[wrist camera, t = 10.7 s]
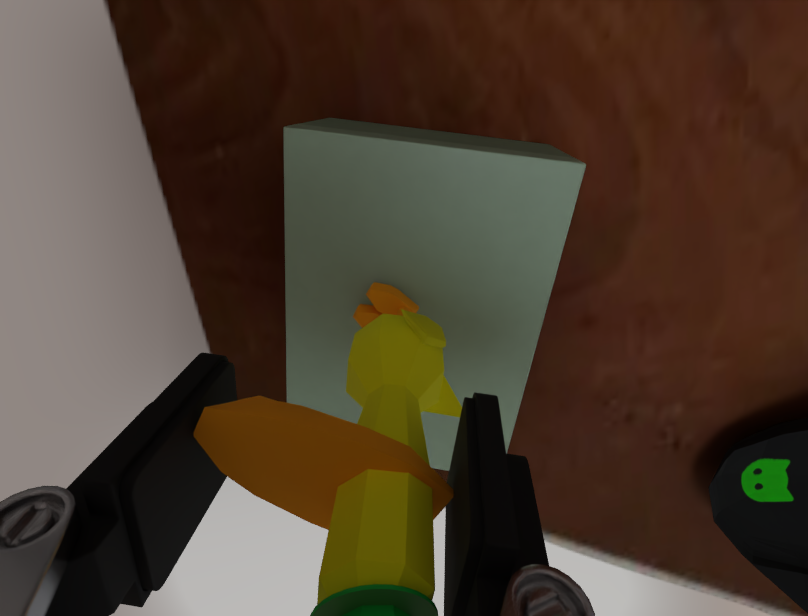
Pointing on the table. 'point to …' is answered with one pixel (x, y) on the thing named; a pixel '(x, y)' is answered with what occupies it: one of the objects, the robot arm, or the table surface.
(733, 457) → the computer mouse
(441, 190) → the green box
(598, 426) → the table surface
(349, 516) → the toy figure
